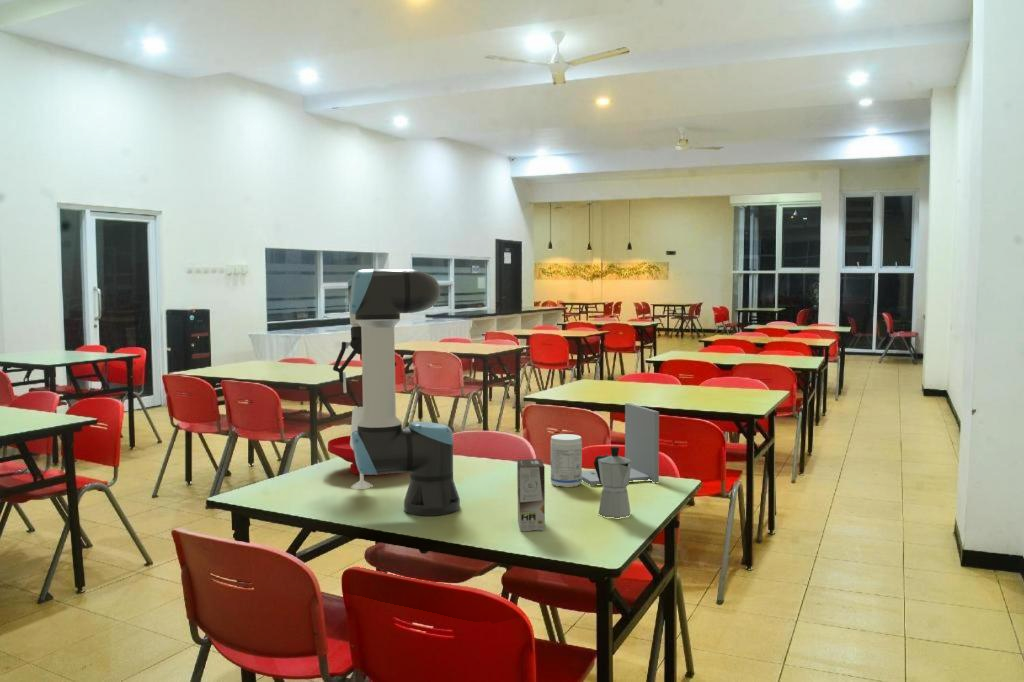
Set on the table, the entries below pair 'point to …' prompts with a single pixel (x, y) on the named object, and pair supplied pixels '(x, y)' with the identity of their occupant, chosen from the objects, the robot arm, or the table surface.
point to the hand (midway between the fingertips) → (366, 390)
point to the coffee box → (531, 494)
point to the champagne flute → (356, 418)
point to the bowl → (344, 451)
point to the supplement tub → (566, 460)
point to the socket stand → (638, 445)
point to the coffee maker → (613, 484)
